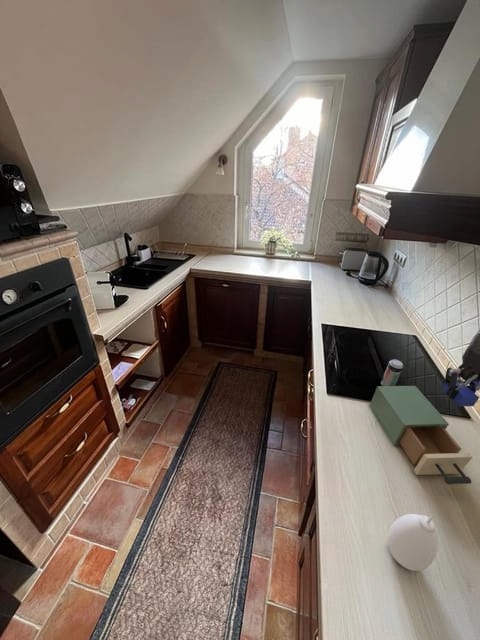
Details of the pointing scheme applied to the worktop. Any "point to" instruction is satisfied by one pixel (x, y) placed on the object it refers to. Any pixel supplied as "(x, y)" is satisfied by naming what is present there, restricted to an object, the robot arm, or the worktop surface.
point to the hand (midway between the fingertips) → (457, 397)
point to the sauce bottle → (413, 541)
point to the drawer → (435, 453)
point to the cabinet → (403, 410)
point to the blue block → (463, 396)
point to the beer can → (392, 373)
